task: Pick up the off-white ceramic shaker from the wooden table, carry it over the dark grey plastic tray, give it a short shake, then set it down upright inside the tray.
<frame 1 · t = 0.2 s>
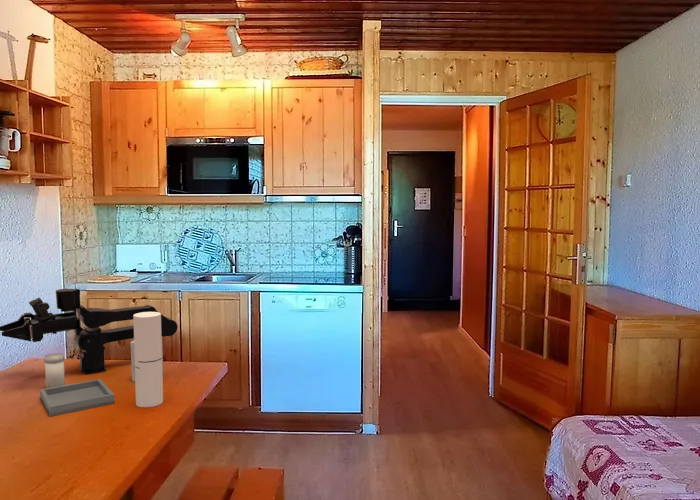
hand: (0, 331, 167), 17 cm above the table, tool horizontal, fingers open, 9 cm apart
tray: (77, 400, 157), on the table
supplement box: (147, 378, 176), on the table
shaker: (55, 387, 167), on the table
cylindrical container: (149, 403, 156), on the table
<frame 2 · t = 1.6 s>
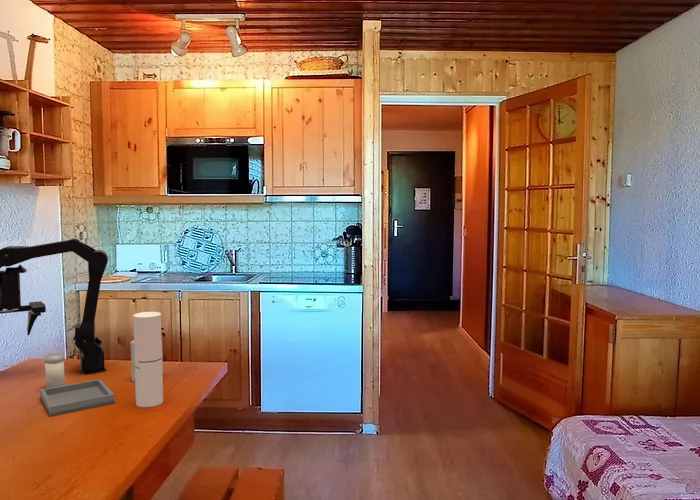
hand: (11, 337, 174), 13 cm above the table, tool pointing down, fingers open, 9 cm apart
nothing on the table moved.
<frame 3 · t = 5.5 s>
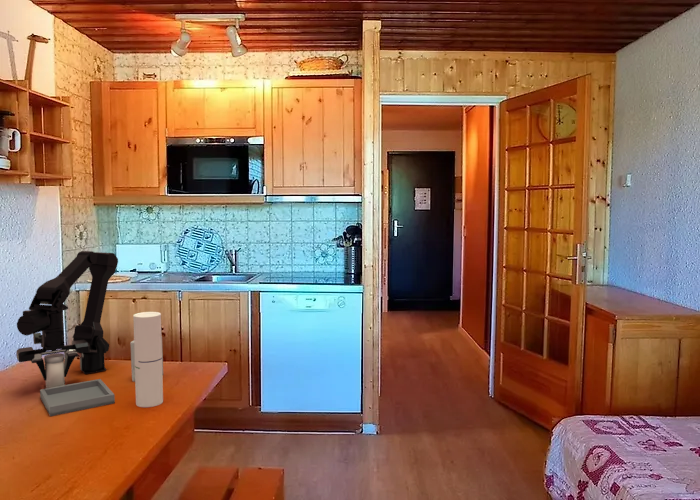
hand: (55, 378, 167), 3 cm above the table, tool pointing down, fingers closed on shaker, 5 cm apart
shaker: (55, 387, 167), on the table, touching gripper
everything else where it was.
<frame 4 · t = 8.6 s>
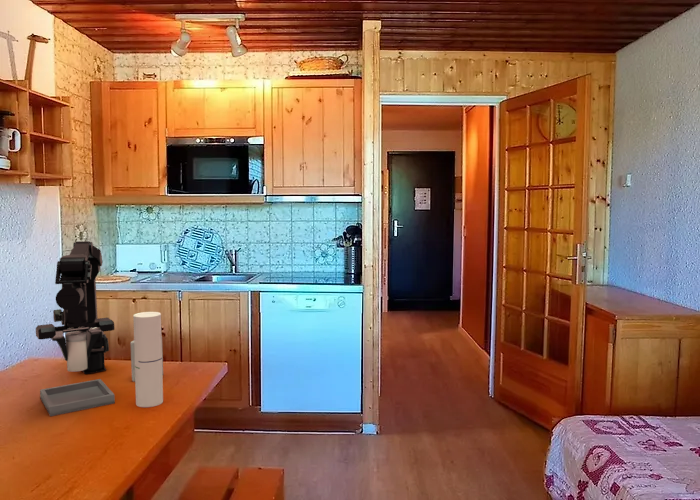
hand: (77, 358, 153), 13 cm above the table, tool pointing down, fingers closed on shaker, 5 cm apart
shaker: (77, 368, 153), point 10 cm above the table, touching gripper
everything else where it was.
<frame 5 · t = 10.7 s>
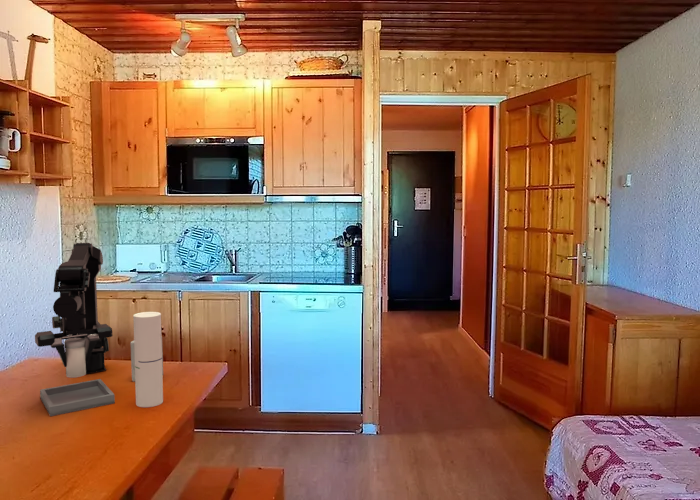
hand: (75, 364, 156), 10 cm above the table, tool pointing down, fingers closed on shaker, 5 cm apart
shaker: (76, 374, 156), point 7 cm above the table, touching gripper
everything else where it was.
when the fingers open (5 cm above the table, at t = 12.2 s): shaker drops 1 cm, resting on tray.
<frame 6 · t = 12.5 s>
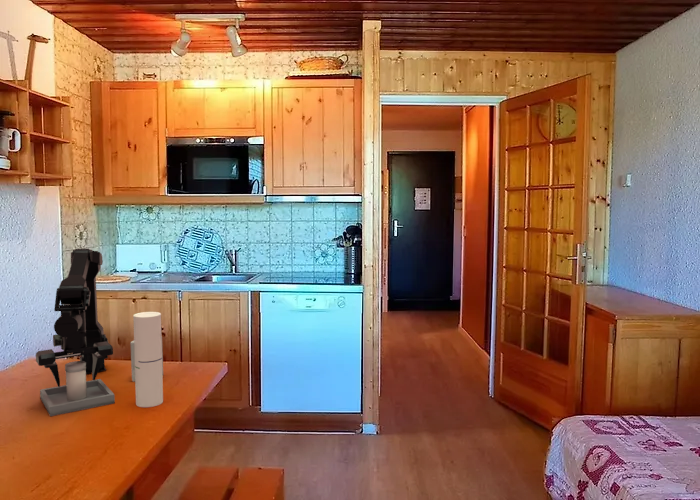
hand: (76, 383, 156), 5 cm above the table, tool pointing down, fingers open, 9 cm apart
shaker: (77, 397, 157), point 1 cm above the table, touching tray
everything else where it was.
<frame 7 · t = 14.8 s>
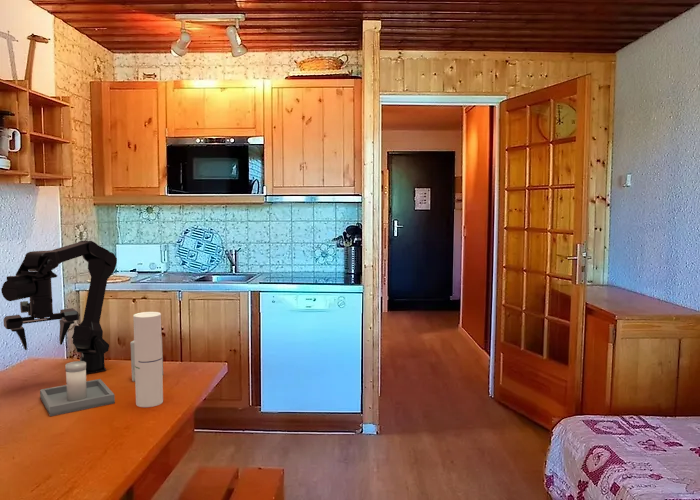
hand: (43, 347, 164), 13 cm above the table, tool pointing down, fingers open, 9 cm apart
nothing on the table moved.
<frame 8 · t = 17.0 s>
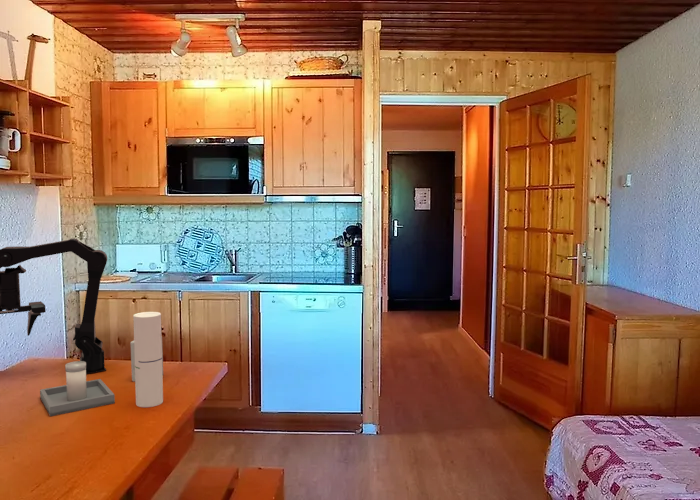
hand: (11, 337, 174), 13 cm above the table, tool pointing down, fingers open, 9 cm apart
nothing on the table moved.
at the end: shaker inside the target area on the tray (0.0 cm from its centre), point 0.8 cm above the tray's base; shaker tilted 0°; the gripper is holding nothing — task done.
